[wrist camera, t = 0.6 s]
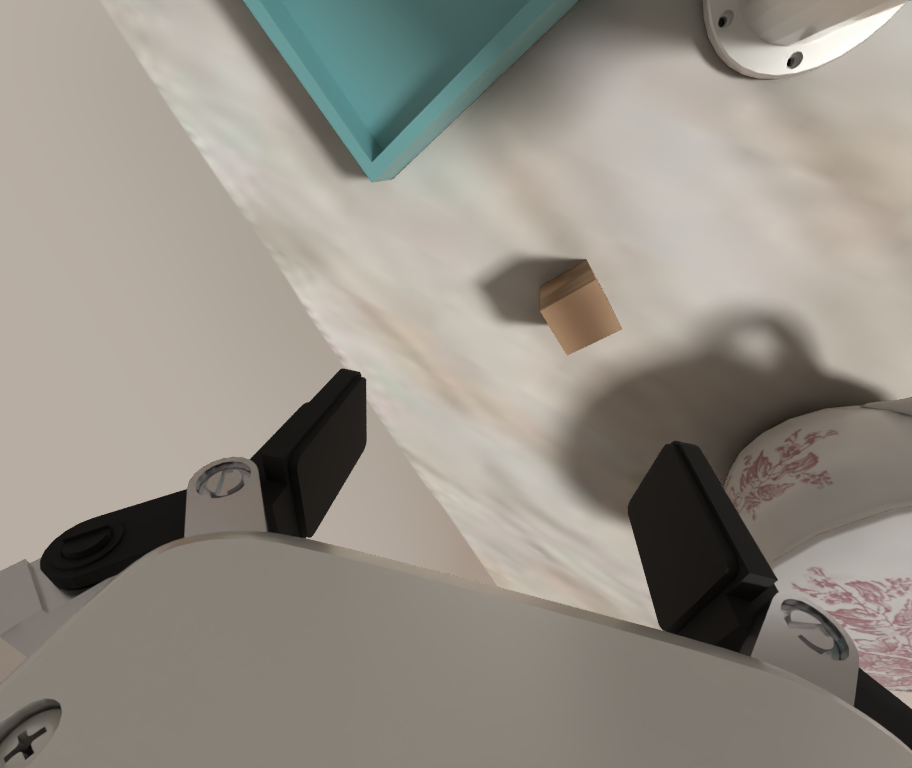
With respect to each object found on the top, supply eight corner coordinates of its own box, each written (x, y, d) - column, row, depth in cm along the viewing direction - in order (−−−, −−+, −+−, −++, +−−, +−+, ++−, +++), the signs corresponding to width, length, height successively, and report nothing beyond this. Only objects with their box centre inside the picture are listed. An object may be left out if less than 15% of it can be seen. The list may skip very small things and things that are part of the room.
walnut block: (586, 259, 34) (596, 279, 28) (608, 301, 35) (622, 329, 30) (539, 286, 36) (539, 311, 30) (562, 325, 38) (567, 355, 32)
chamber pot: (781, 561, 50) (908, 772, 33) (631, 467, 46) (685, 649, 29) (1069, 450, 34) (1593, 737, 17) (878, 295, 31) (1301, 466, 14)
